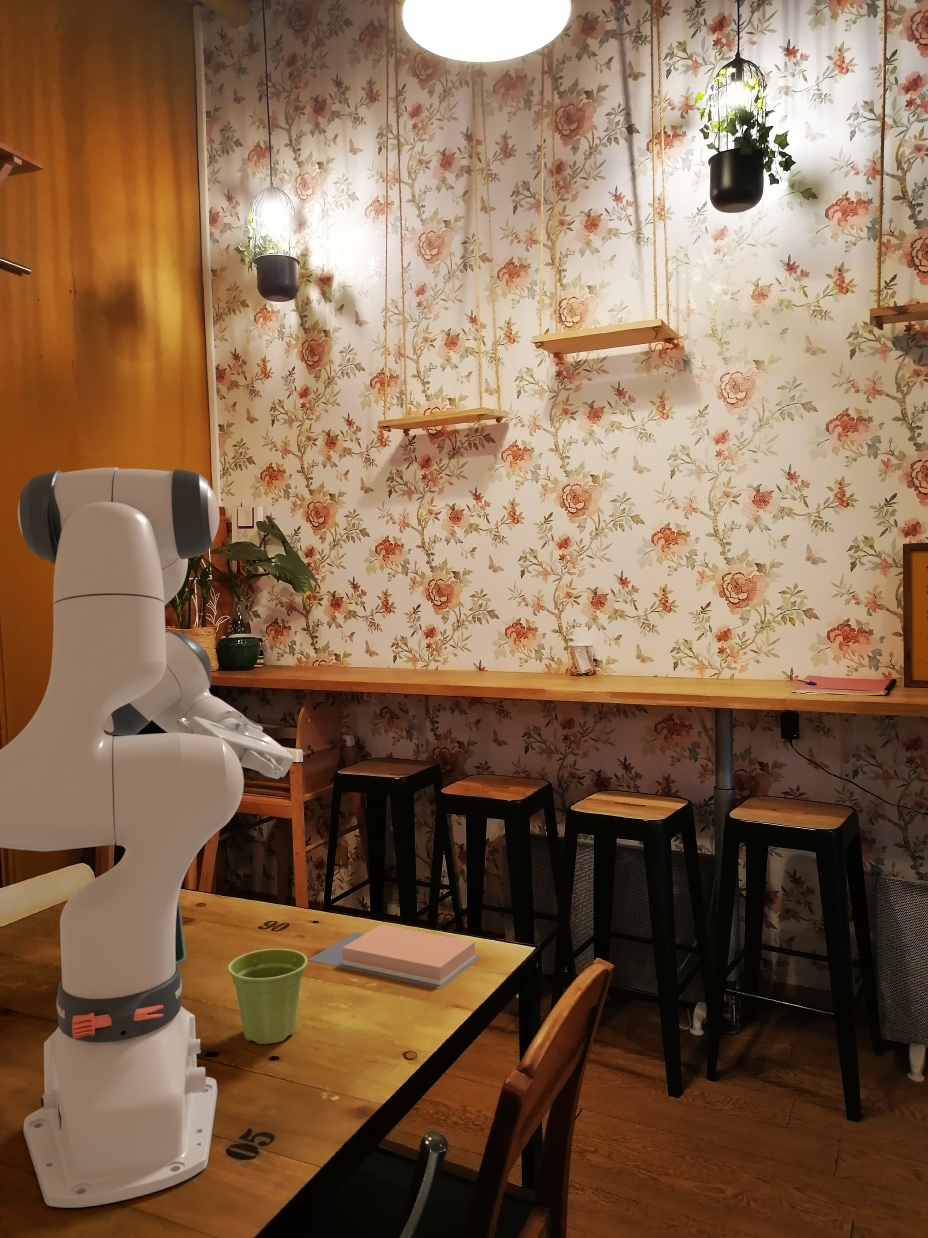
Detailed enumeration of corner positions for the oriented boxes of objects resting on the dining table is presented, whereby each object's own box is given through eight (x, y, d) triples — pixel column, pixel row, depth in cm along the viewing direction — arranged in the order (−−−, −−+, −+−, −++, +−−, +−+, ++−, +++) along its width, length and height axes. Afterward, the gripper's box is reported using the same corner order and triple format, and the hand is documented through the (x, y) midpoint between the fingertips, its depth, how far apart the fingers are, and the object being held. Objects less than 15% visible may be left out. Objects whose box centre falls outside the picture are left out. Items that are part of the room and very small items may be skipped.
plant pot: (227, 1022, 116) (225, 953, 116) (303, 1010, 119) (301, 943, 119) (232, 1058, 107) (230, 984, 107) (314, 1044, 110) (312, 972, 110)
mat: (307, 962, 134) (307, 960, 134) (355, 934, 145) (355, 932, 145) (440, 992, 124) (440, 989, 124) (481, 959, 135) (481, 956, 135)
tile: (342, 947, 133) (440, 967, 125) (381, 924, 141) (474, 942, 134) (342, 964, 133) (440, 985, 125) (381, 940, 141) (474, 958, 134)
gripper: (181, 698, 136) (244, 741, 129) (263, 725, 153) (322, 765, 147) (159, 736, 135) (220, 782, 128) (244, 759, 153) (302, 801, 146)
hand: (275, 773), depth 138 cm, fingers closed
